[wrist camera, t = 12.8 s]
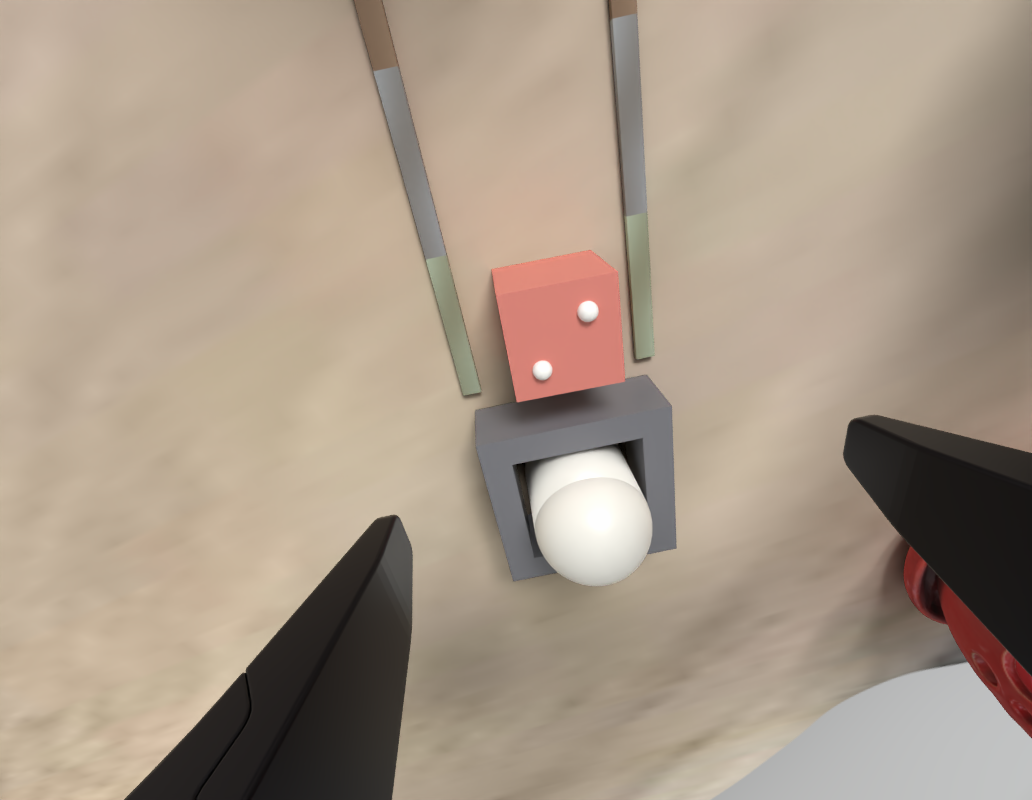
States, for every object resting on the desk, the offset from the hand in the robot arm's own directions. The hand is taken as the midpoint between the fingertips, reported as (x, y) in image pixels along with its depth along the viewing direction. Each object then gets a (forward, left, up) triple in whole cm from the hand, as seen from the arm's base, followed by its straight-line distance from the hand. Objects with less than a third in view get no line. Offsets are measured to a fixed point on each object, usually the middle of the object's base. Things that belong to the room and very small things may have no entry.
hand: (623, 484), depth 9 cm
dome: (0, +8, -11) cm, 14 cm away
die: (0, 0, -12) cm, 12 cm away
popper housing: (0, +8, -12) cm, 14 cm away
